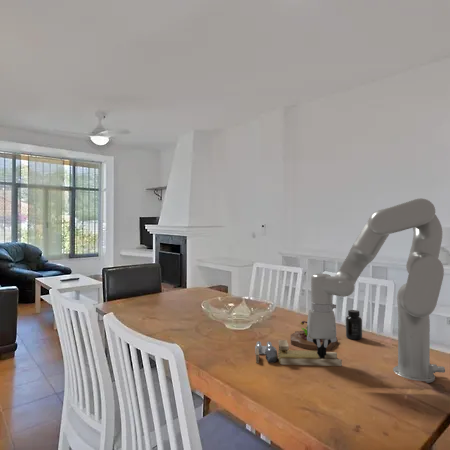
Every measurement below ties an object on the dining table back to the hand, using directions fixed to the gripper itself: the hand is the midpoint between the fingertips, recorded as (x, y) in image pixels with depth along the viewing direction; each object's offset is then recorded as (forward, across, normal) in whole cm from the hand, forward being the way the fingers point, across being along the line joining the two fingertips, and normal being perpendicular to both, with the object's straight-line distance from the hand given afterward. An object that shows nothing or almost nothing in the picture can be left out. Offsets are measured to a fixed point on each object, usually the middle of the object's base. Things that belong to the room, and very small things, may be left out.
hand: (321, 356), depth 131 cm
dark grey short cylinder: (-2, +17, 0) cm, 17 cm away
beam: (+2, +4, 0) cm, 5 cm away
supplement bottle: (+2, -20, -29) cm, 35 cm away
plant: (+2, -1, -22) cm, 22 cm away
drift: (+2, +9, +1) cm, 9 cm away
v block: (+2, +21, -9) cm, 23 cm away
